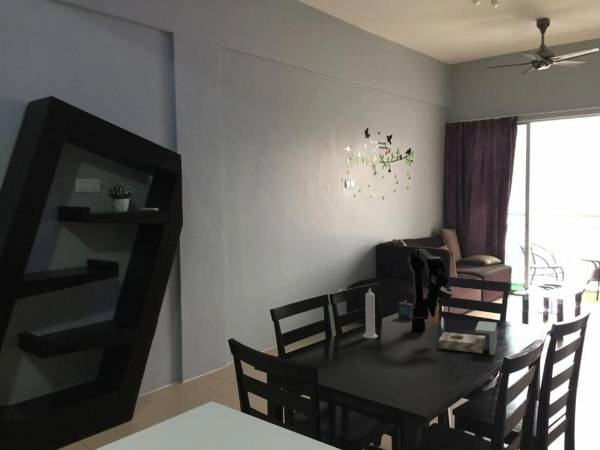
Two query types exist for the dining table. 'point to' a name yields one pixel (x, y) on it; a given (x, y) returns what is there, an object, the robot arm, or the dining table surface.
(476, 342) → the socket block
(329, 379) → the dining table surface
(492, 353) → the upright pale grey block
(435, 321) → the peg
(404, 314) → the flask
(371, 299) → the candle
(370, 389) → the dining table surface
